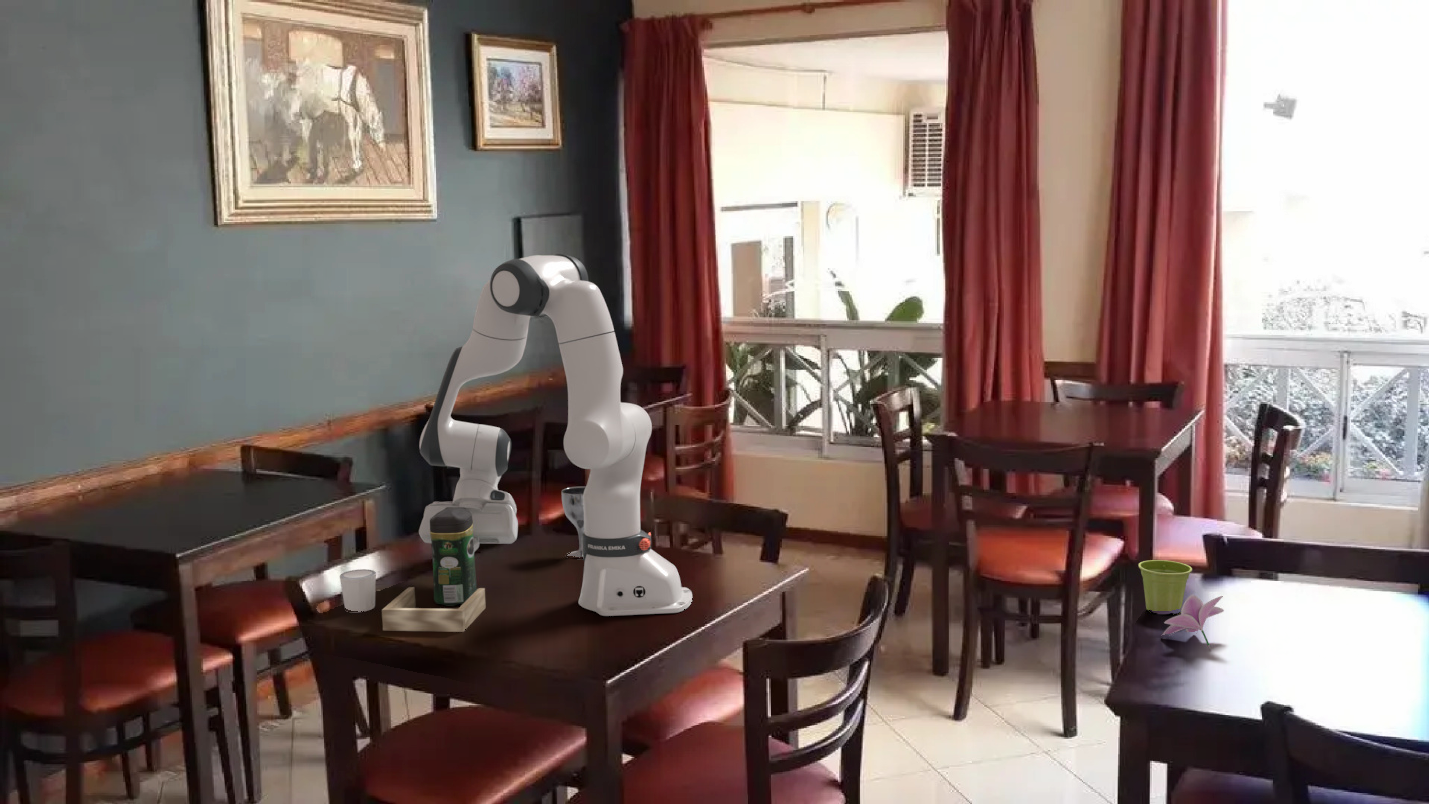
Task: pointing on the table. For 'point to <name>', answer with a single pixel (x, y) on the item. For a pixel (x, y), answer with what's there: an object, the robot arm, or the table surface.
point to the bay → (430, 614)
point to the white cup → (358, 589)
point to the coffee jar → (453, 556)
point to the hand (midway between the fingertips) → (462, 559)
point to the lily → (1193, 615)
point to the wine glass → (575, 511)
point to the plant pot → (1164, 584)
